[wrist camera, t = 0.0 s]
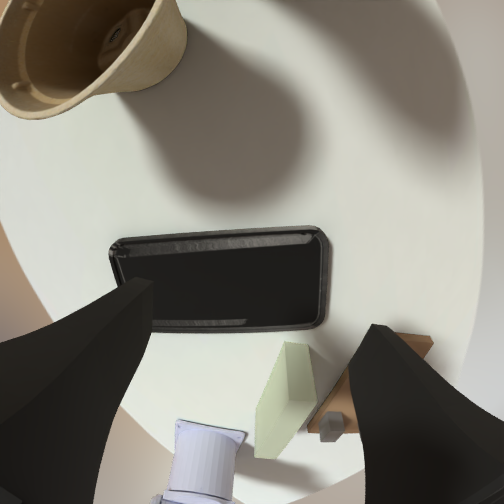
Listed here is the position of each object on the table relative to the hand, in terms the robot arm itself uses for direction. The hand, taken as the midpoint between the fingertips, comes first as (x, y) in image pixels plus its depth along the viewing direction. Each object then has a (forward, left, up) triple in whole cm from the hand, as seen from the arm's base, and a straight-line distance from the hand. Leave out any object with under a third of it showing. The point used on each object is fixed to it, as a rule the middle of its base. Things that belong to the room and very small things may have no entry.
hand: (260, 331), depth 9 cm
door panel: (-14, -5, -10) cm, 18 cm away
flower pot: (+10, +10, -10) cm, 17 cm away
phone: (-5, +2, -11) cm, 12 cm away
